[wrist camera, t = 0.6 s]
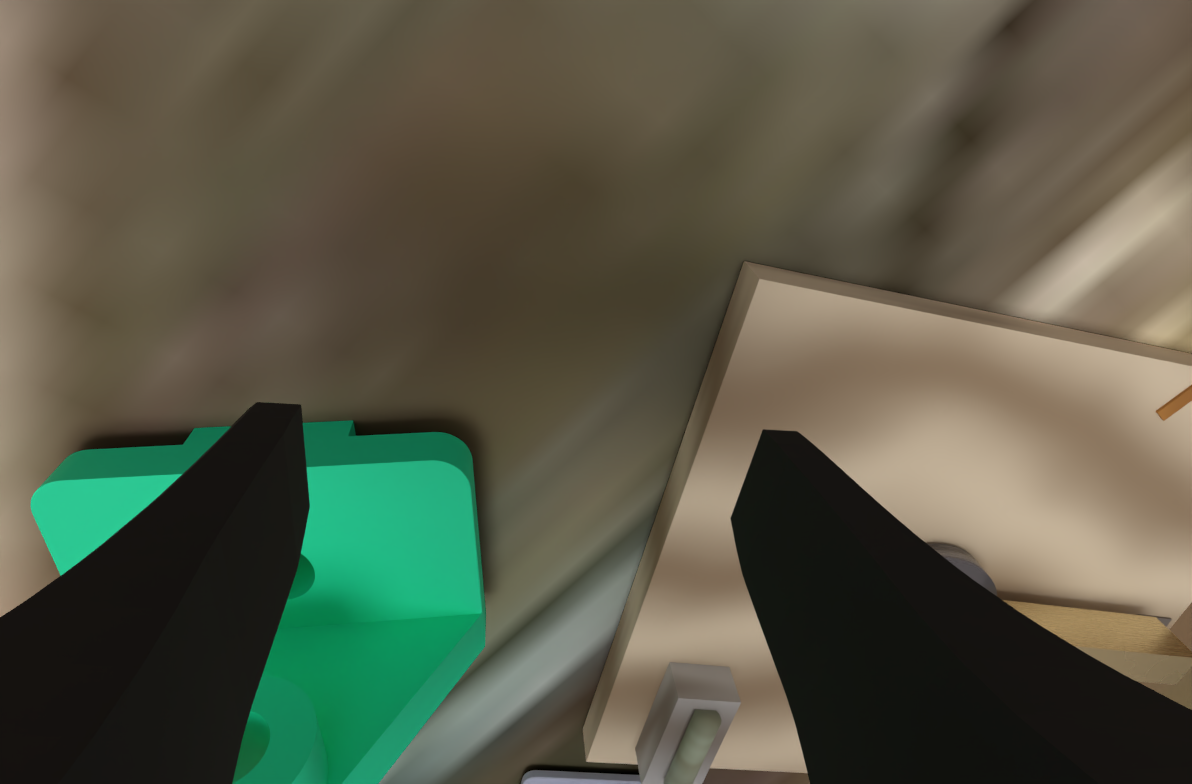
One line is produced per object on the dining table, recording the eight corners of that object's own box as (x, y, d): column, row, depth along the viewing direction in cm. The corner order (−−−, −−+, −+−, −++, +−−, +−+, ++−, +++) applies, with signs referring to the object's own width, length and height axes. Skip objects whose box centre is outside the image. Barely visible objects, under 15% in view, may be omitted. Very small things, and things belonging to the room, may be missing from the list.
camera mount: (471, 411, 23) (452, 678, 14) (486, 590, 27) (478, 890, 18) (67, 431, 22) (-226, 735, 13) (141, 615, 26) (-49, 950, 17)
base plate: (1022, 755, 36) (1077, 836, 32) (582, 729, 31) (592, 820, 28) (1314, 378, 26) (1433, 437, 23) (744, 261, 22) (788, 312, 18)
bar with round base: (1101, 664, 30) (1147, 716, 28) (828, 638, 28) (856, 694, 25) (1173, 572, 28) (1229, 622, 26) (882, 535, 25) (918, 587, 23)
